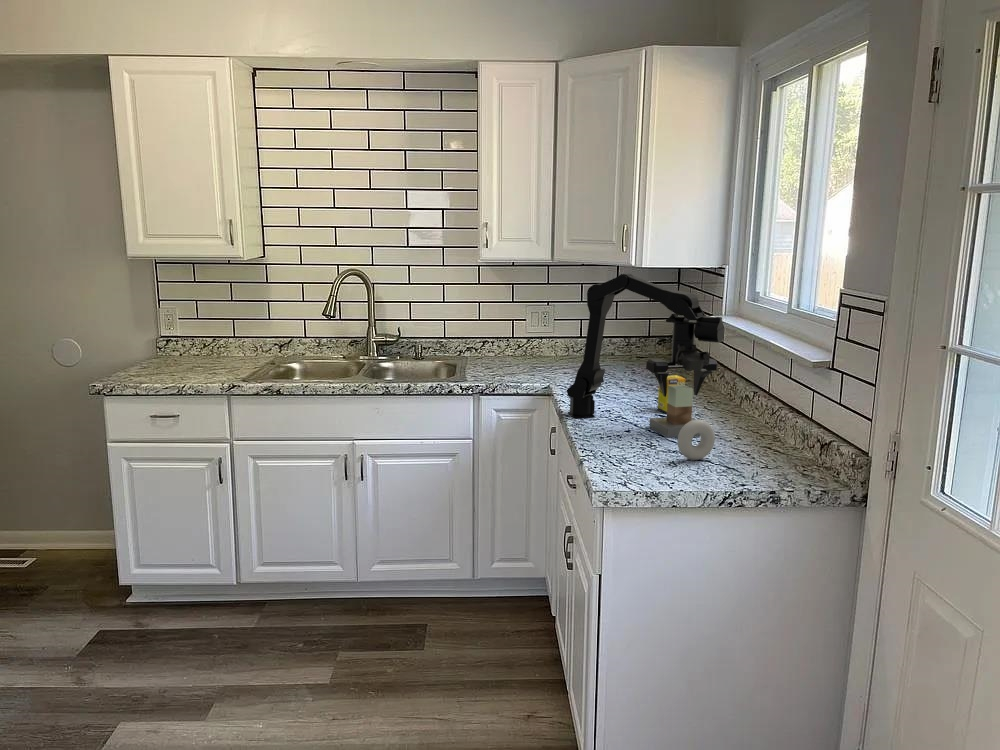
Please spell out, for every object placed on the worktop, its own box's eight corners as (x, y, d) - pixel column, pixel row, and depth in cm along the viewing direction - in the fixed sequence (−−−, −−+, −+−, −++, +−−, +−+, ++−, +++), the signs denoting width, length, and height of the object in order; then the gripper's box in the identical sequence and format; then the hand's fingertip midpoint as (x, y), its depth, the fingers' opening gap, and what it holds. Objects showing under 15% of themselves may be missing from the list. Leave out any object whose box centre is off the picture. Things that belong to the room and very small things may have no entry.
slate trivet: (667, 437, 205) (668, 428, 204) (649, 426, 216) (649, 418, 216) (708, 435, 207) (709, 426, 207) (688, 424, 219) (689, 416, 218)
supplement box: (666, 414, 231) (668, 379, 229) (657, 410, 237) (658, 375, 235) (683, 413, 233) (685, 378, 231) (674, 409, 238) (676, 374, 236)
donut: (708, 455, 189) (710, 416, 187) (716, 459, 185) (719, 419, 184) (673, 459, 185) (675, 419, 183) (681, 463, 182) (683, 423, 180)
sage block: (675, 407, 208) (676, 389, 207) (667, 403, 212) (668, 385, 211) (692, 406, 209) (693, 388, 208) (684, 402, 213) (685, 384, 212)
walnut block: (674, 424, 208) (675, 407, 208) (666, 420, 213) (667, 403, 212) (691, 424, 210) (692, 406, 209) (682, 419, 214) (683, 402, 213)
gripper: (663, 344, 197) (660, 403, 200) (729, 343, 201) (725, 400, 204) (646, 338, 208) (644, 394, 211) (709, 337, 212) (705, 392, 215)
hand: (680, 395), depth 210 cm, fingers open, 9 cm apart
